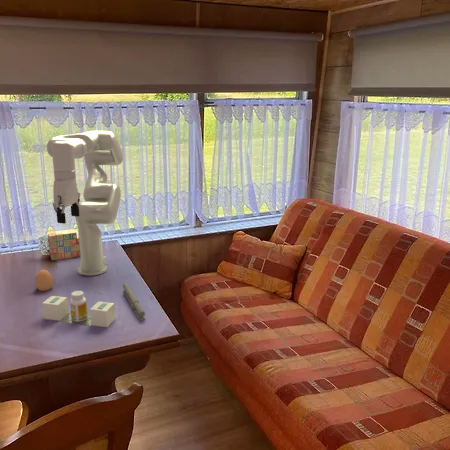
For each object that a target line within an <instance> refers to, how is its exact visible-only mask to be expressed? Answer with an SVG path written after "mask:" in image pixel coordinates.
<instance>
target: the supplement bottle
mask: <svg viewBox="0 0 450 450" xmlns="http://www.w3.org/2000/svg"><path fill="white" fill-rule="evenodd" d="M84 295H85V294H84V291H82V290H74V291H73V292H71V295H70V296H71V298H70V300H69V308H70V312H71V319H72V320H73V321H75V322H80V321H84V320H86V319H87V315H88V305H87V298H86V297H85V296H84Z"/></svg>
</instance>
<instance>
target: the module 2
mask: <svg viewBox="0 0 450 450" xmlns="http://www.w3.org/2000/svg"><path fill="white" fill-rule="evenodd" d="M89 313H90V314H89V315H90V316H91V325H94V326H101V327H100V328H102V327H107V328H108V327H109V326H110V325H111V324H112V323H113V322H114V321H115V320H116V319H115V318H116V307H115V303H113V302H108V301H107V302H106V301H96V302H95V304H94V305H93V306H92V307H91V308H90V309H89ZM94 326H93V327H94Z"/></svg>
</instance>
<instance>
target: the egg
mask: <svg viewBox="0 0 450 450" xmlns="http://www.w3.org/2000/svg"><path fill="white" fill-rule="evenodd" d="M53 284H54V279H53V275H52V273H50V272H49V270H47V269H41V270H39V271H38V272H37V274H36V276H35V278H34V285H35V287H36V288H37V289H38V290H39V291H41V292H44V291H49V290H50V289H52V287H53Z"/></svg>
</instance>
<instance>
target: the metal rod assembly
mask: <svg viewBox="0 0 450 450" xmlns="http://www.w3.org/2000/svg"><path fill="white" fill-rule="evenodd" d="M122 288H123V292H122V293H123V295H124V296H125V298H126V299H127V301H128V302H129V303H128V304H129V305H130V307H131V309H132V310H133V312H134V313H135V315H136V316H137V318H138V319H139V321H145V320H146V318H145V315H146V312H145V310H144V309H143V307H142V306H141V303H140V301H139V299H138V298H137V297H136V296H135V294H134V292H133V291H132V289H131V287H130V286H129V284H128V283H123V285H122Z"/></svg>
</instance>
